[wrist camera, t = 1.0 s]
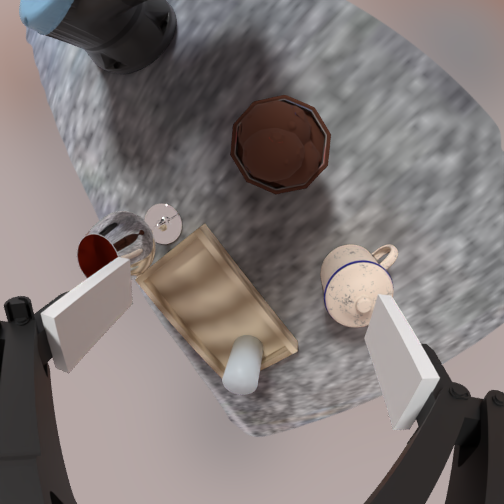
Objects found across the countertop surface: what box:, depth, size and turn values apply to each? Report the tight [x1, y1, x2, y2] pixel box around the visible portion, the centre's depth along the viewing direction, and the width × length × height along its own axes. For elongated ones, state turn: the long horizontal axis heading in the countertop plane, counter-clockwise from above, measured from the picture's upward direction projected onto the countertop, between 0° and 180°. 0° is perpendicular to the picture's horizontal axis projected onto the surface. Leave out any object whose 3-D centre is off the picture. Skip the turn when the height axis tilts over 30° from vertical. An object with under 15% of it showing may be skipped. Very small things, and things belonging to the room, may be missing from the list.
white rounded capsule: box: [222, 335, 263, 395], centre depth 44 cm, size 5×5×9 cm
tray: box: [135, 224, 298, 378], centre depth 47 cm, size 24×14×3 cm, turn 37°
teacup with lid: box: [321, 245, 398, 327], centre depth 38 cm, size 12×9×12 cm
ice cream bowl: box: [230, 95, 331, 194], centre depth 33 cm, size 11×11×15 cm
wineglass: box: [77, 203, 182, 280], centre depth 37 cm, size 8×8×18 cm
